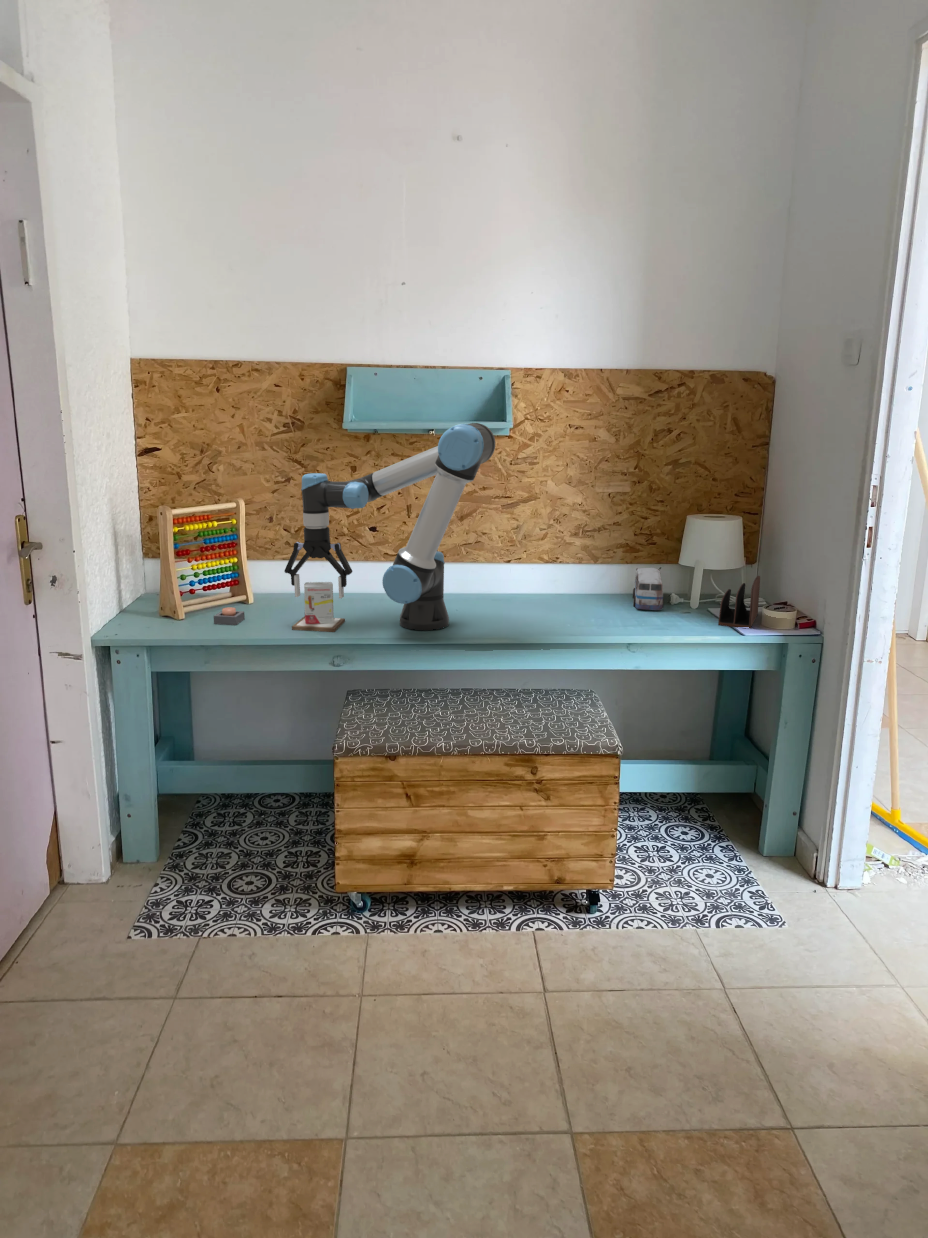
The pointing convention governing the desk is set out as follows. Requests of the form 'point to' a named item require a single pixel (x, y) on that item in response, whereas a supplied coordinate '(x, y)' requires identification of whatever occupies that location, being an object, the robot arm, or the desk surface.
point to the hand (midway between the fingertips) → (319, 596)
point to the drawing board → (318, 625)
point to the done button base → (229, 618)
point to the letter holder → (740, 607)
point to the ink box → (318, 602)
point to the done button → (229, 611)
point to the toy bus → (648, 589)
